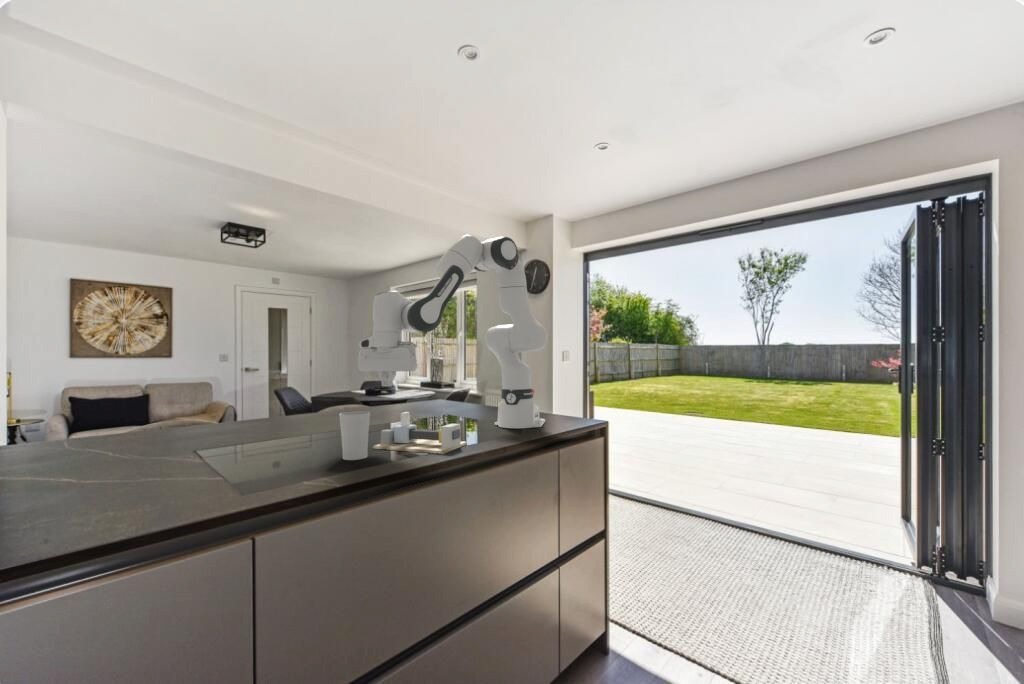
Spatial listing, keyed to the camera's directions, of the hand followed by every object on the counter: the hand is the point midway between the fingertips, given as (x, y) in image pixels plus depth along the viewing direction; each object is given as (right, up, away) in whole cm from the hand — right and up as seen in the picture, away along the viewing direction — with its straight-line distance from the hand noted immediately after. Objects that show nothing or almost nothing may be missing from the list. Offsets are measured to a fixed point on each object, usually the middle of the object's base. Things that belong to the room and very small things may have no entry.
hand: (387, 386), depth 139 cm
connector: (+21, -17, -9) cm, 29 cm away
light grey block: (+2, -18, -1) cm, 18 cm away
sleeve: (+6, -17, -3) cm, 18 cm away
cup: (-4, -18, -18) cm, 26 cm away
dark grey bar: (+11, -16, -5) cm, 20 cm away
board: (+11, -18, -5) cm, 22 cm away
